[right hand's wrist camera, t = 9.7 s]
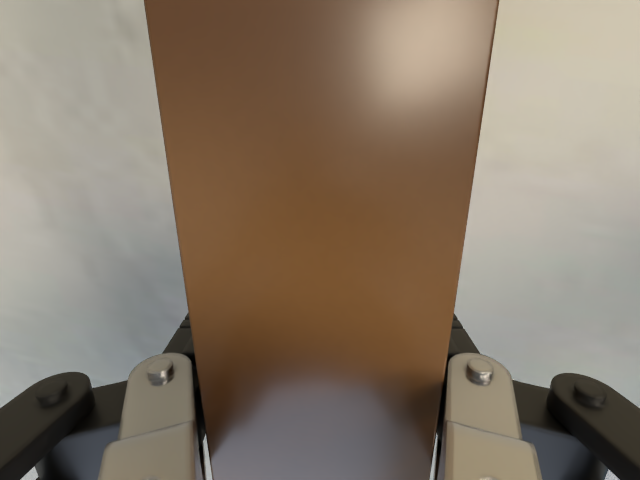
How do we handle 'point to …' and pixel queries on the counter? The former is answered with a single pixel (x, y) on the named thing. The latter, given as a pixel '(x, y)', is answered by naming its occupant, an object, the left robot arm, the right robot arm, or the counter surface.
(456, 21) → the post
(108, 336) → the counter surface
